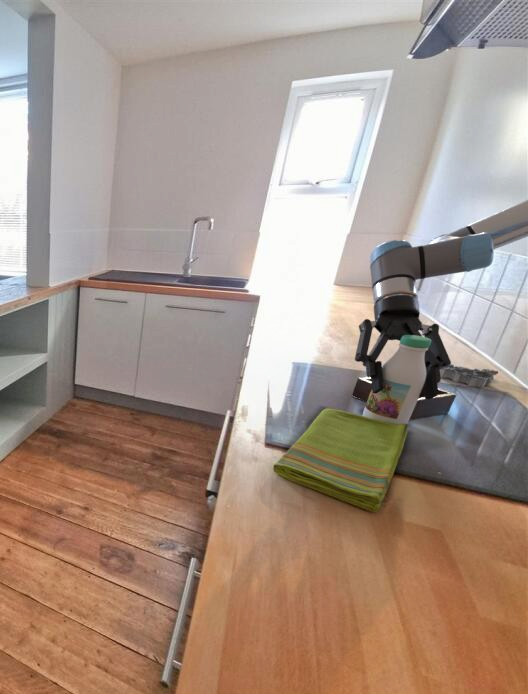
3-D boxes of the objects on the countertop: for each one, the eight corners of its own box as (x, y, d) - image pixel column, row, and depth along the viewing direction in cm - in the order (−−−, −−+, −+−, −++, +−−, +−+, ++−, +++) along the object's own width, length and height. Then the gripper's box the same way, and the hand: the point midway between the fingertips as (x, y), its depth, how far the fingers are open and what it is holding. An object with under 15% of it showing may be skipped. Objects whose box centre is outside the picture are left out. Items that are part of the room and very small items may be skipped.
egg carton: (494, 385, 112) (502, 371, 110) (477, 389, 110) (484, 375, 108) (447, 371, 121) (453, 358, 119) (430, 374, 119) (435, 361, 117)
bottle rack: (447, 413, 97) (456, 394, 95) (408, 420, 94) (417, 400, 92) (387, 391, 109) (394, 373, 107) (351, 396, 106) (357, 378, 104)
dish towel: (269, 474, 75) (274, 459, 74) (321, 412, 97) (325, 400, 96) (377, 517, 65) (384, 500, 63) (407, 436, 87) (413, 423, 86)
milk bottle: (384, 414, 97) (417, 331, 89) (415, 430, 89) (453, 342, 81) (352, 414, 96) (382, 332, 88) (380, 431, 89) (416, 343, 81)
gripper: (441, 315, 94) (455, 407, 87) (332, 308, 101) (336, 393, 93) (466, 296, 88) (483, 394, 80) (348, 290, 94) (353, 380, 86)
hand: (404, 393), depth 87 cm, fingers open, 9 cm apart
